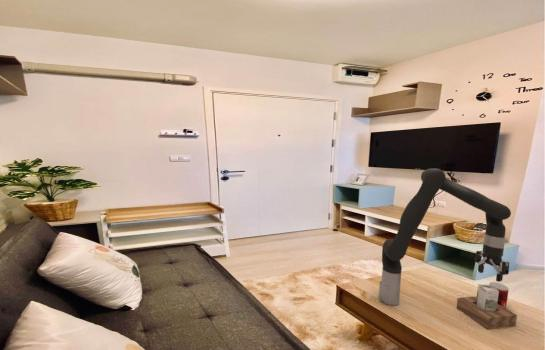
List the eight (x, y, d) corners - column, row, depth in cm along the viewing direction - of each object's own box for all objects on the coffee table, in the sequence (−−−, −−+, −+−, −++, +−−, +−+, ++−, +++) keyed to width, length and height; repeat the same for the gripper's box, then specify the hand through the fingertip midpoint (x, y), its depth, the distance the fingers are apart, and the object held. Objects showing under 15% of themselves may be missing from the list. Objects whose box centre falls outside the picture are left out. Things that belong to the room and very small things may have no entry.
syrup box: (486, 311, 129) (489, 284, 128) (495, 319, 123) (499, 290, 122) (474, 310, 129) (477, 283, 128) (483, 318, 124) (486, 290, 122)
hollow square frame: (487, 329, 117) (488, 318, 117) (456, 308, 133) (457, 298, 132) (515, 326, 120) (516, 315, 120) (482, 305, 136) (483, 295, 135)
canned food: (502, 303, 138) (505, 284, 137) (508, 311, 131) (511, 291, 130) (485, 299, 142) (487, 280, 140) (490, 307, 134) (492, 287, 133)
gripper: (472, 239, 129) (469, 270, 131) (502, 250, 115) (498, 284, 117) (485, 239, 130) (481, 269, 132) (516, 250, 116) (511, 284, 118)
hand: (489, 276), depth 124 cm, fingers open, 8 cm apart
